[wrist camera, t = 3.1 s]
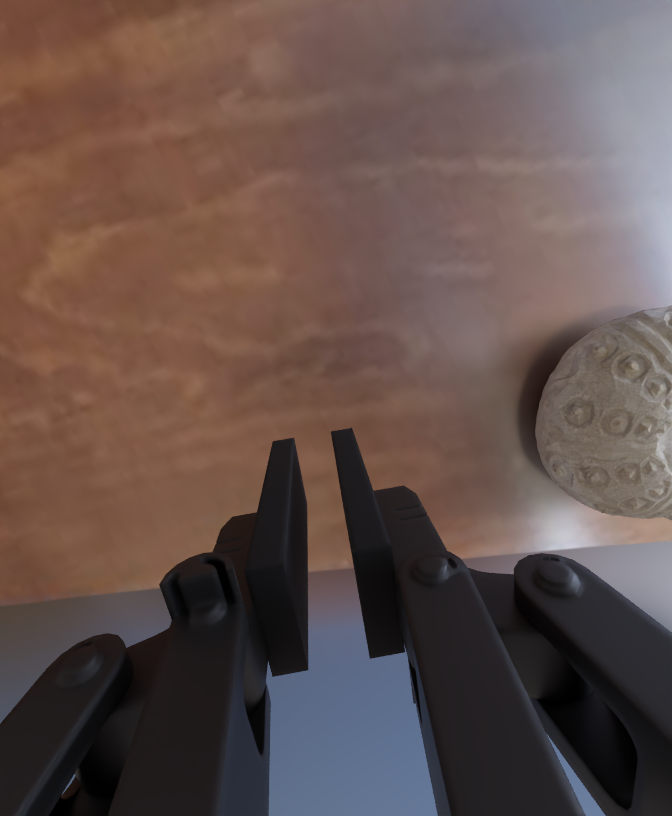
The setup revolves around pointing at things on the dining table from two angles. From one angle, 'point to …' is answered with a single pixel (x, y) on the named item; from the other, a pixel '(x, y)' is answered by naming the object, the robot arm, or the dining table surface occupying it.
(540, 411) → the decorative shell
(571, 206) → the dining table surface
